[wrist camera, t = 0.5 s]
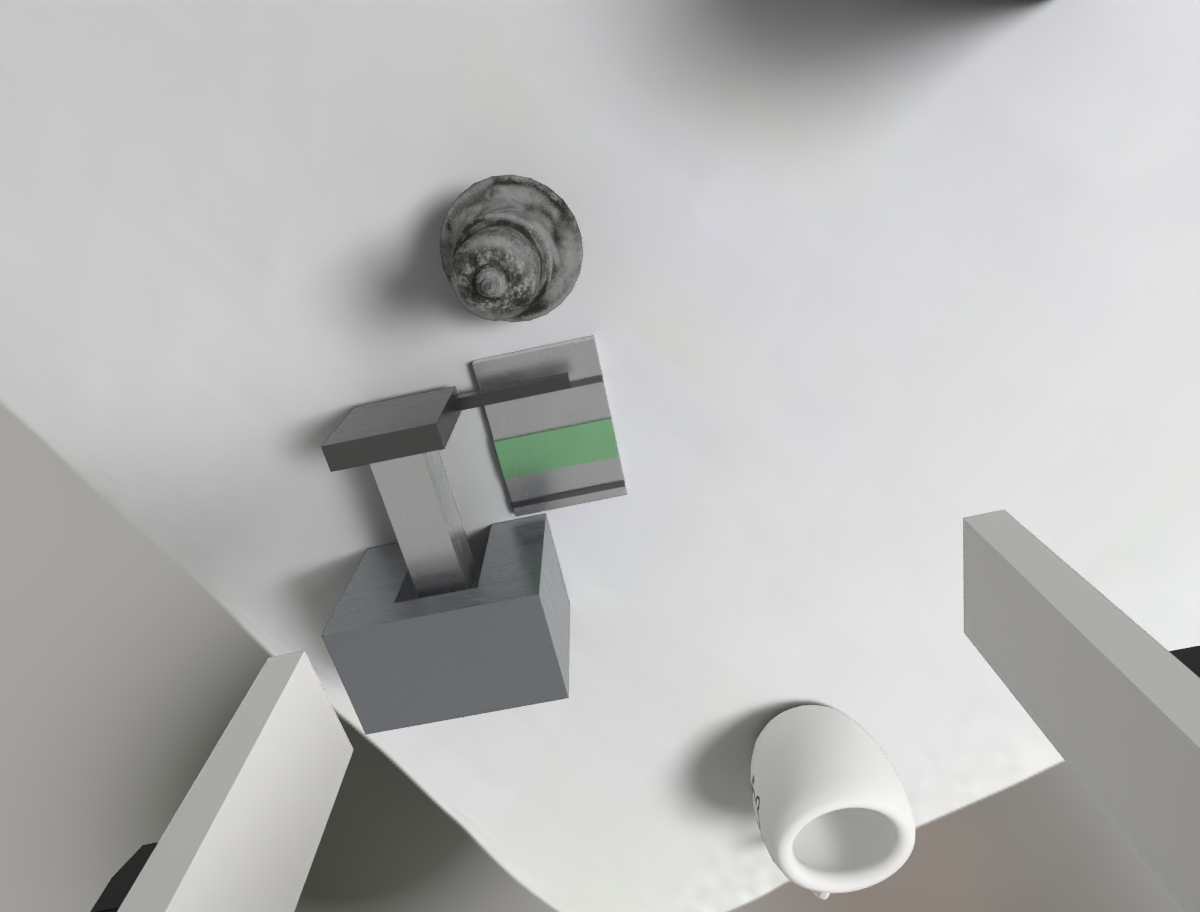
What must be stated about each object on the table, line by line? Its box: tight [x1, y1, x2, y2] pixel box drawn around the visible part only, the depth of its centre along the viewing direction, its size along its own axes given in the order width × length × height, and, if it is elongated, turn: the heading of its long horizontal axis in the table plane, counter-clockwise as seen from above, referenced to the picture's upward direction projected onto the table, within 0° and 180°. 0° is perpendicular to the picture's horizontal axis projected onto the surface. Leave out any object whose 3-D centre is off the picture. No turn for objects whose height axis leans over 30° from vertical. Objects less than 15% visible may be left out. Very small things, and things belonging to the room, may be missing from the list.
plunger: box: [321, 372, 571, 598], centre depth 33 cm, size 9×10×5 cm
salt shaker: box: [440, 175, 583, 322], centre depth 27 cm, size 6×6×12 cm
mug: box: [751, 705, 915, 900], centre depth 42 cm, size 12×8×8 cm
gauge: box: [321, 336, 627, 734], centre depth 34 cm, size 15×14×8 cm
